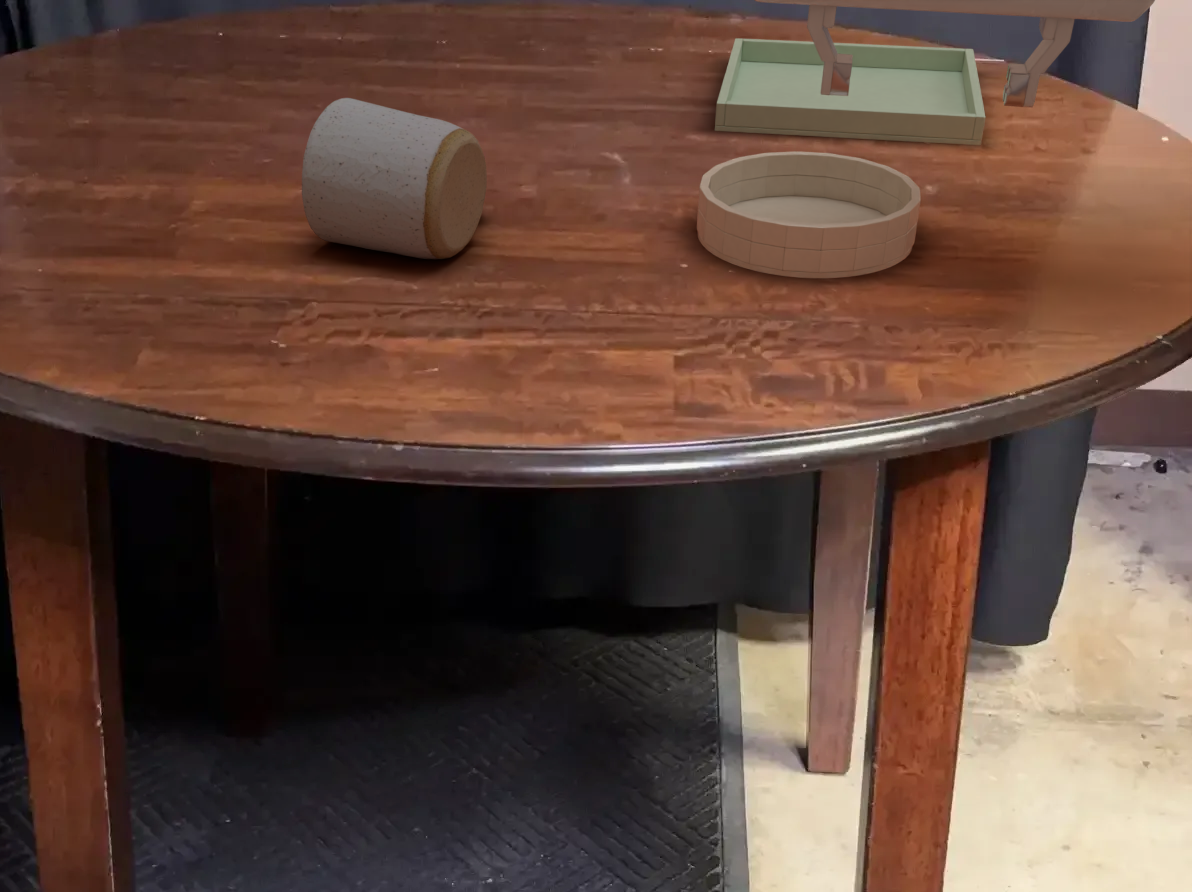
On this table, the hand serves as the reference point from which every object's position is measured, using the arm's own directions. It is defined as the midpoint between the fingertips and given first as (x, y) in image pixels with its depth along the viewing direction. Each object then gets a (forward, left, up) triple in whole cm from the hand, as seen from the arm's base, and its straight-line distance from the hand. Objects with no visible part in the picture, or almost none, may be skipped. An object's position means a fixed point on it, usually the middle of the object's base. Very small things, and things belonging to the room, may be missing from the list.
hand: (925, 98), depth 79 cm
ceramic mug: (+27, +4, -8) cm, 29 cm away
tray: (+3, -26, -8) cm, 28 cm away
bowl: (+5, 0, -8) cm, 10 cm away
